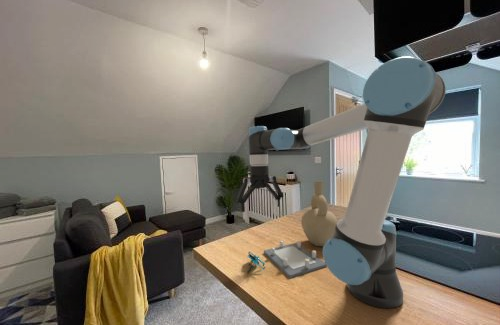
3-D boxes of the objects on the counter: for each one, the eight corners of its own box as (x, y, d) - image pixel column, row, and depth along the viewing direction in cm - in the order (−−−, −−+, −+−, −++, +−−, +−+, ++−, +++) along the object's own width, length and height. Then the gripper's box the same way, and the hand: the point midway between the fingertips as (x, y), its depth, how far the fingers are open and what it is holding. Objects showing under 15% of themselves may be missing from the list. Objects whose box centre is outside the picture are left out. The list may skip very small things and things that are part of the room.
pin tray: (327, 266, 81) (326, 256, 80) (289, 278, 74) (289, 267, 74) (295, 245, 100) (295, 236, 100) (263, 253, 94) (263, 243, 93)
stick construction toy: (269, 265, 77) (253, 251, 77) (258, 282, 74) (241, 267, 74) (261, 260, 88) (247, 248, 88) (251, 275, 85) (236, 262, 86)
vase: (344, 250, 93) (343, 184, 91) (307, 252, 93) (305, 185, 91) (329, 235, 110) (328, 179, 108) (298, 237, 109) (296, 180, 108)
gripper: (281, 163, 92) (283, 210, 93) (226, 166, 83) (229, 218, 84) (290, 163, 85) (292, 215, 86) (231, 167, 76) (234, 224, 77)
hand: (261, 217), depth 85 cm, fingers open, 13 cm apart
